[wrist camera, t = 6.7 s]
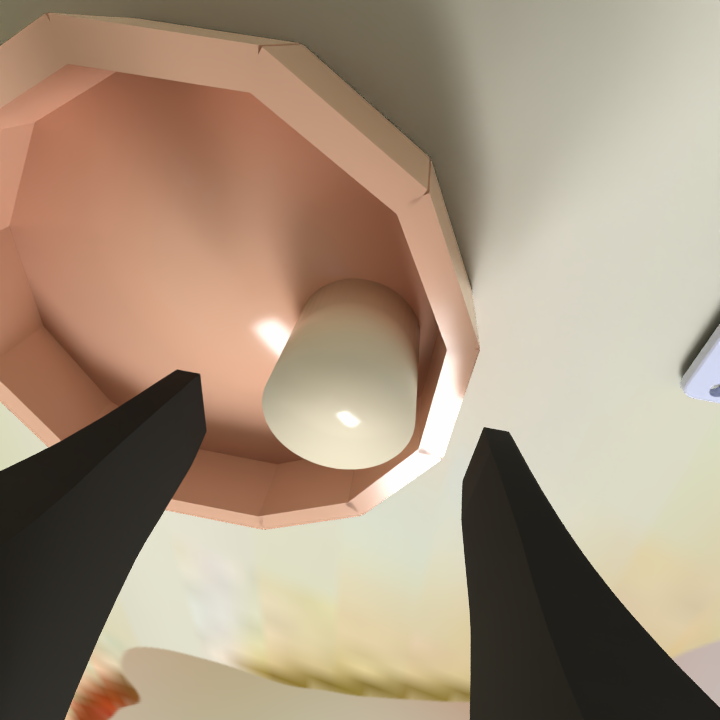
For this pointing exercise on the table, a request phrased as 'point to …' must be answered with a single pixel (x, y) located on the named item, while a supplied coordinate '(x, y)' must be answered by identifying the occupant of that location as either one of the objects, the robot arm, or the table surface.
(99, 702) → the table surface
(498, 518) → the robot arm
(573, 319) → the table surface
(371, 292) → the cream marshmallow
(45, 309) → the bowl
